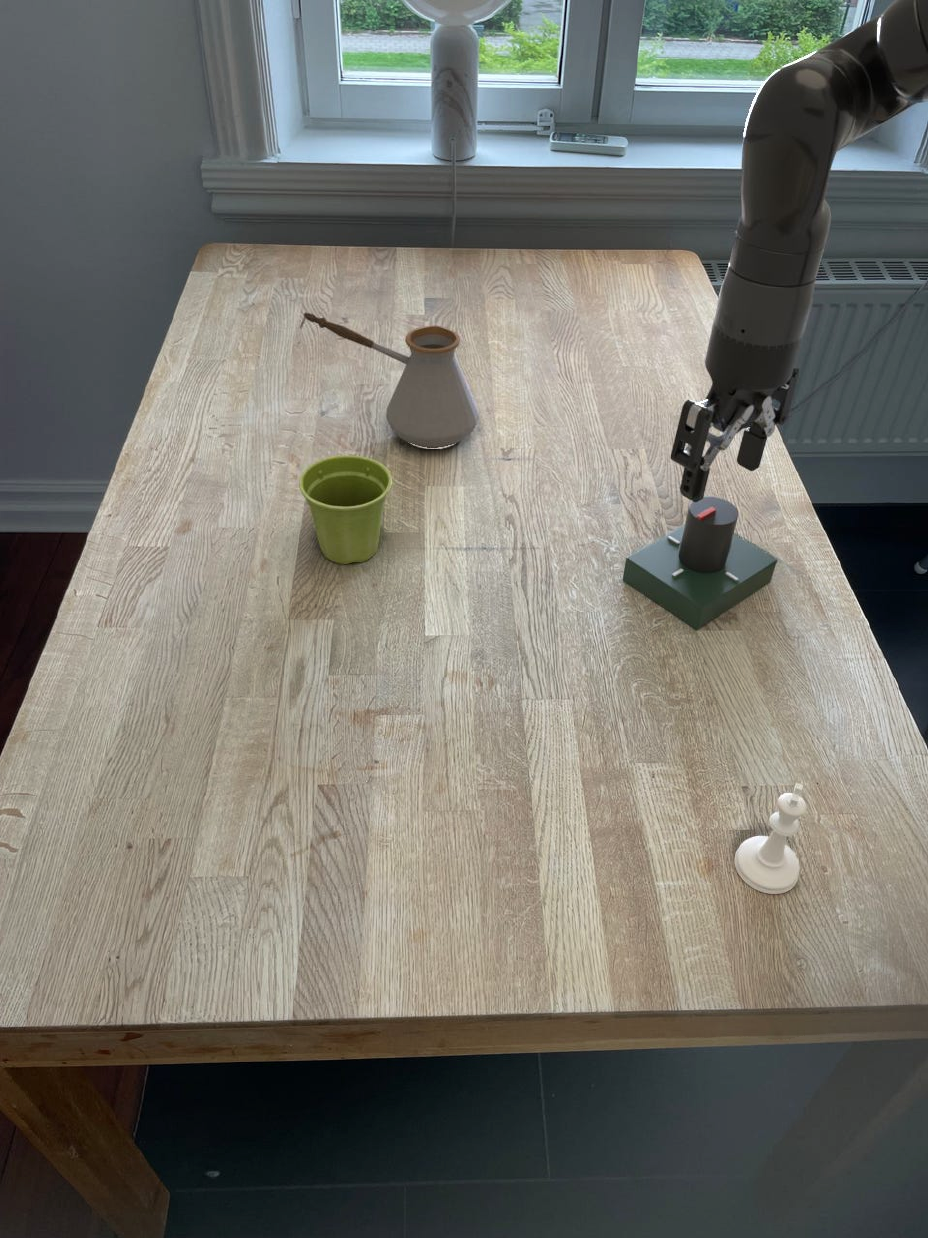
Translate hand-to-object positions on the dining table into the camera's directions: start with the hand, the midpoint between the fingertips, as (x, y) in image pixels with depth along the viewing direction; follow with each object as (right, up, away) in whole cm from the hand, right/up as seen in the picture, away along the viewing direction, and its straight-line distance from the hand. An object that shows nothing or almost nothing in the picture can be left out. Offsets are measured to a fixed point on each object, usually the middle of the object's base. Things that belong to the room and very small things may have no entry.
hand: (719, 481), depth 93 cm
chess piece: (-1, -33, -17) cm, 37 cm away
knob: (0, -7, +6) cm, 9 cm away
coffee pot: (-33, +10, +29) cm, 45 cm away
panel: (0, -9, +8) cm, 12 cm away
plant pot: (-37, -6, +11) cm, 39 cm away
